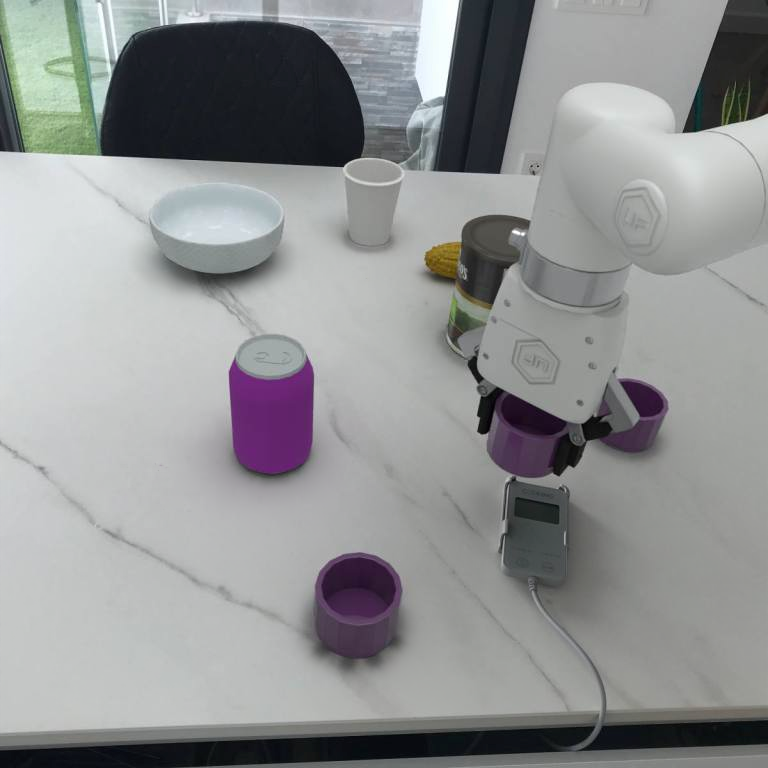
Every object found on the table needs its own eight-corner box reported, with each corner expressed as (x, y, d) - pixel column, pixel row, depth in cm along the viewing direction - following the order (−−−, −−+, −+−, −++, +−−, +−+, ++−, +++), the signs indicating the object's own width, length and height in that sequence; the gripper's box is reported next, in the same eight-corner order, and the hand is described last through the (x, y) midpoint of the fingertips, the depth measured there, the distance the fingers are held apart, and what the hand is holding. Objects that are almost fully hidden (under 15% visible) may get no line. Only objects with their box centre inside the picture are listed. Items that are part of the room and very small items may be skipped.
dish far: (666, 449, 81) (679, 417, 78) (607, 454, 79) (619, 422, 76) (638, 407, 86) (650, 376, 83) (583, 412, 84) (593, 380, 81)
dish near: (404, 652, 60) (410, 619, 57) (319, 663, 59) (321, 630, 56) (388, 582, 65) (392, 548, 62) (309, 591, 64) (310, 557, 61)
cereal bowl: (197, 308, 94) (193, 257, 89) (131, 250, 103) (124, 201, 98) (309, 266, 103) (310, 218, 99) (239, 217, 112) (237, 171, 108)
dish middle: (573, 474, 65) (586, 436, 63) (499, 481, 64) (509, 442, 61) (546, 422, 70) (557, 384, 68) (477, 427, 69) (485, 388, 66)
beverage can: (228, 478, 73) (221, 379, 65) (238, 422, 79) (232, 326, 71) (310, 481, 73) (312, 383, 66) (314, 426, 79) (316, 330, 72)
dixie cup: (365, 256, 106) (370, 189, 100) (328, 231, 111) (330, 165, 104) (410, 240, 111) (417, 174, 104) (372, 217, 115) (377, 152, 109)
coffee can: (440, 358, 90) (457, 251, 81) (450, 310, 98) (466, 208, 89) (529, 373, 89) (556, 267, 80) (532, 323, 97) (556, 221, 88)
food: (572, 273, 107) (582, 234, 103) (581, 295, 103) (592, 256, 99) (421, 265, 105) (426, 226, 102) (424, 288, 101) (429, 248, 97)
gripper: (444, 242, 57) (418, 422, 68) (669, 340, 49) (598, 522, 61) (497, 209, 62) (464, 381, 73) (709, 293, 54) (636, 470, 66)
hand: (525, 444), depth 67 cm, fingers closed on dish middle, 6 cm apart
